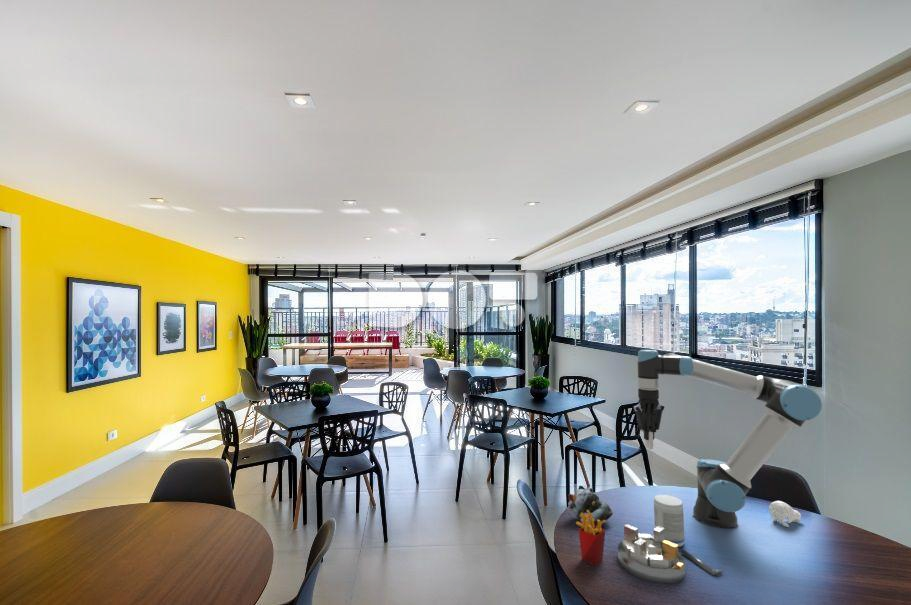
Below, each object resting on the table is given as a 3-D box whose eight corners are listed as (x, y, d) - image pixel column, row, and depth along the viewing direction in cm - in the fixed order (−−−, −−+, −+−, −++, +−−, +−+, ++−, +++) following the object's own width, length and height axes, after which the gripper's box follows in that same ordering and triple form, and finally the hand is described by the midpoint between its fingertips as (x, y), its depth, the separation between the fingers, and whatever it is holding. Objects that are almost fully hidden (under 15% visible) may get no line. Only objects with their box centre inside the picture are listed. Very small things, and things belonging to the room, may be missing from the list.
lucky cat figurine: (591, 534, 152) (573, 496, 156) (574, 532, 162) (557, 497, 166) (619, 514, 158) (601, 479, 162) (601, 513, 168) (584, 480, 173)
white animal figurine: (767, 498, 164) (791, 498, 166) (766, 519, 163) (790, 520, 165) (782, 505, 157) (807, 505, 160) (781, 527, 157) (806, 527, 159)
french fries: (606, 559, 136) (606, 514, 136) (594, 570, 130) (594, 522, 130) (582, 549, 142) (581, 505, 142) (570, 558, 136) (569, 513, 137)
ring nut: (618, 539, 142) (618, 522, 143) (665, 542, 141) (665, 524, 141) (633, 566, 127) (633, 546, 127) (685, 569, 125) (685, 549, 125)
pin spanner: (681, 554, 139) (681, 549, 139) (689, 552, 140) (689, 548, 140) (713, 577, 127) (713, 572, 127) (722, 575, 128) (722, 570, 128)
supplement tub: (689, 543, 146) (688, 501, 147) (675, 551, 141) (674, 508, 141) (663, 531, 154) (662, 492, 155) (649, 538, 149) (648, 498, 150)
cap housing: (656, 544, 145) (656, 526, 146) (700, 579, 126) (699, 559, 126) (606, 549, 141) (605, 532, 142) (643, 586, 122) (642, 566, 122)
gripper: (656, 386, 168) (657, 444, 167) (628, 387, 165) (628, 445, 164) (669, 389, 160) (670, 449, 159) (639, 390, 158) (640, 451, 157)
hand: (649, 447), depth 162 cm, fingers closed
